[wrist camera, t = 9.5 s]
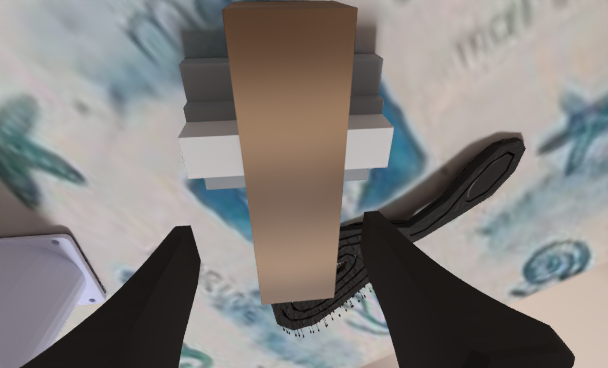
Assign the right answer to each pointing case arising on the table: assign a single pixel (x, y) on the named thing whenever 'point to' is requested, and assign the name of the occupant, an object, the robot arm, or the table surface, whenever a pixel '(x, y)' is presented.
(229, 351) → the table surface
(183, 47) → the table surface
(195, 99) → the ridge stand
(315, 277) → the walnut stick
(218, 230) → the table surface
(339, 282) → the hairbrush
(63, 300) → the robot arm
